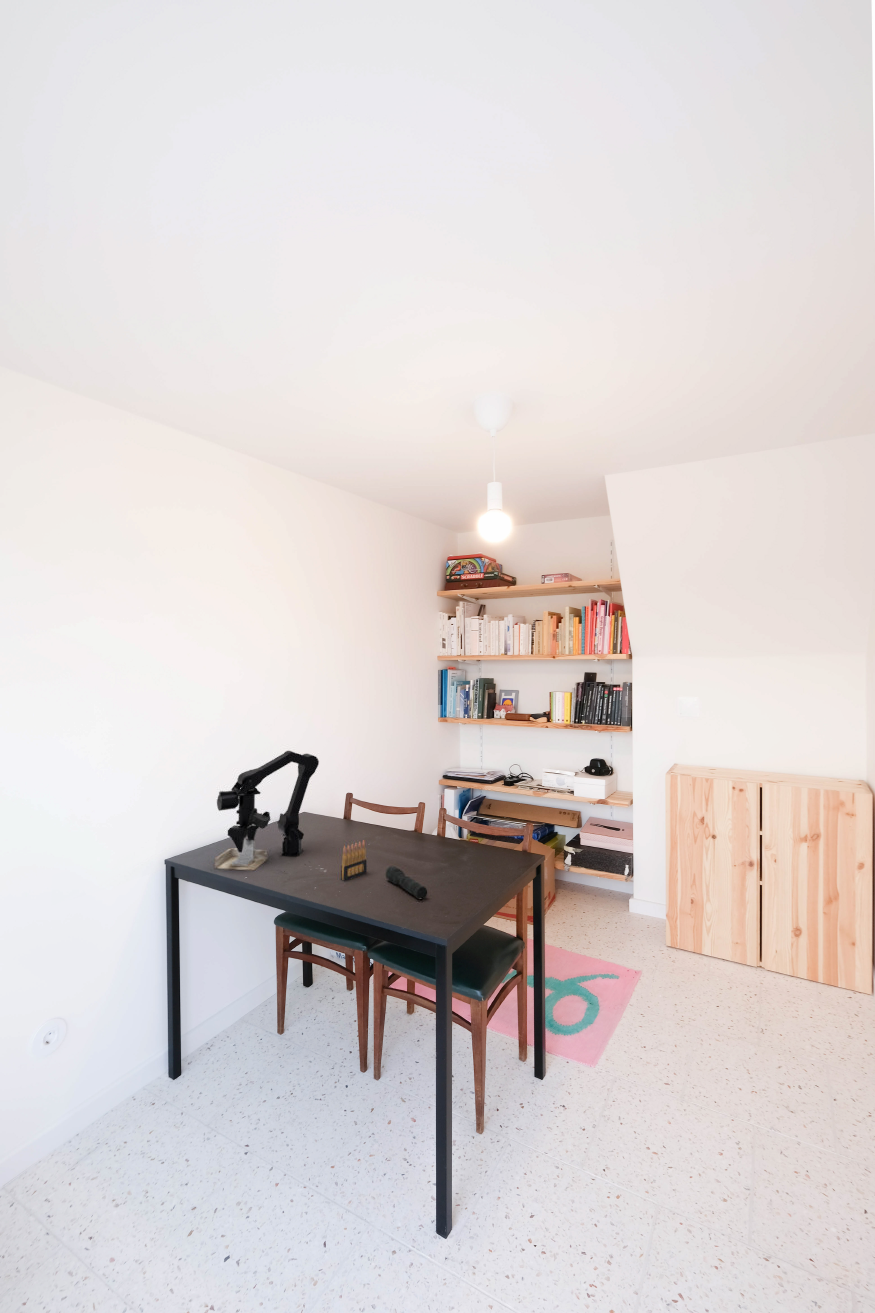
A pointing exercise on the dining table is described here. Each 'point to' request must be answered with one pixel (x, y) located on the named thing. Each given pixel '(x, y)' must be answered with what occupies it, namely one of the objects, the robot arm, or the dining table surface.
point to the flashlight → (405, 882)
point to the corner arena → (232, 854)
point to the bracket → (246, 854)
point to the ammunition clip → (353, 862)
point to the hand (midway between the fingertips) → (245, 848)
